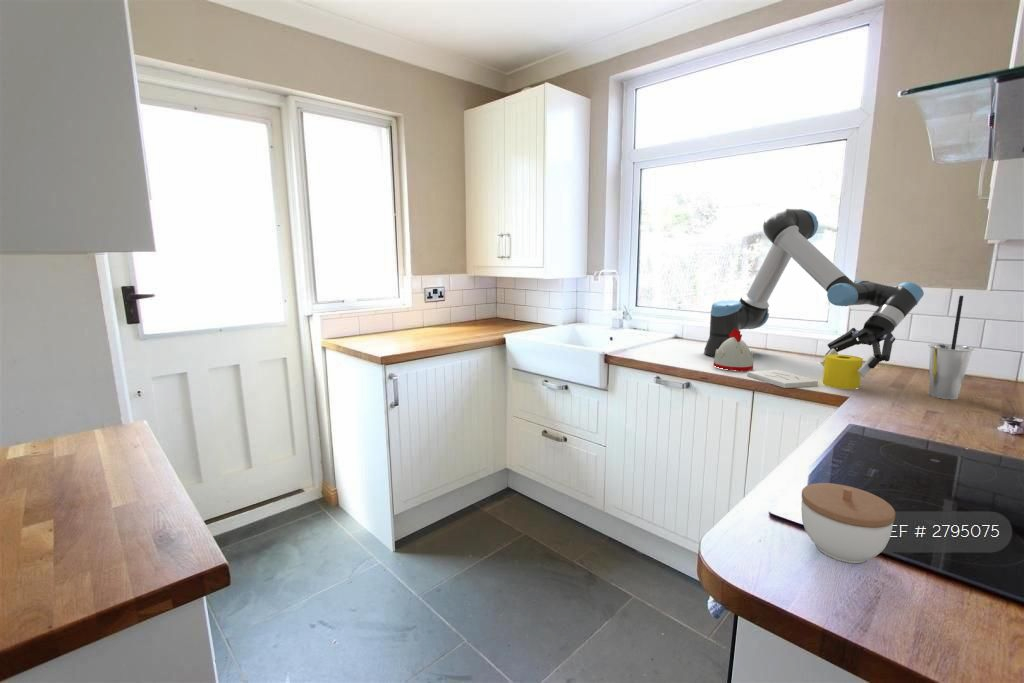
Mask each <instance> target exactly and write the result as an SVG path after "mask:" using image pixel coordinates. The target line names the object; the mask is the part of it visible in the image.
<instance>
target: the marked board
mask: <svg viewBox="0 0 1024 683" xmlns="http://www.w3.org/2000/svg"><path fill="white" fill-rule="evenodd" d="M747 377H750V378H753V379H756V380H759V381H761V382H766V383H768V384H771V385H775V386H777V387H781V388H783V389H788V388H789V389H792V388H803V387H815V386H816V385H817V386H819V380H816V379H812V378H810V377H805V376H802V375H798V374H795V373H792V372H788V371H784V370H781V369H771V370H755V371H752V370H751V371H747ZM817 386H816V387H817Z"/></svg>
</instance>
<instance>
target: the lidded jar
mask: <svg viewBox="0 0 1024 683" xmlns="http://www.w3.org/2000/svg"><path fill="white" fill-rule="evenodd" d="M895 519H896V511H895V509H894V507H893V506H892V505H891V504H890V503H889V502H887V501H886V500H885V499H884V498H882V497H879V496H878V495H875V494H873V493H871V492H869V491H866V490H863V489H860V488H857V487H853V486H849V485H845V484H839V483H833V482H832V483H830V482H818V483H816V482H815V483H811V484H808V485H806V486H804V487H803V488H802V490H801V520H802V525H803V527H804V530H805V532H806V534H807V535H808V537H809V539H810V540H811V541H812V542H813V543H814V544H815V547H816V546H817V547H818V548H817V547H816V548H817V550H819V551H820V552H821V553H822V554H823V555H825V556H827V557H829V558H831V559H834V560H836V561H839V562H842V563H847V564H862V563H865V562H867V561H868V560H870V559H873V558H874V557H877V556H878V555H880V553H882V552H883V551H884V550H885V548H886V546H887V545H888V542H889V541H890V539H891V536H892V531H893V528H894V527H893V525H894V522H895Z"/></svg>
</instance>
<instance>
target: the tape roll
mask: <svg viewBox="0 0 1024 683" xmlns="http://www.w3.org/2000/svg"><path fill="white" fill-rule="evenodd" d="M824 357H825V364H824V367H823V375H822V383H823V384H822V385H824V386H826V387H829V386H830V387H829V388H833V387H835V388H834V389H839V388H841V390H857V389H856V388H858V389H860V384H861V378H862V376H861V375H860V374H859V373H858V370H859V369H860V368H861V366H862V365H863V358H862V357H859V356H854V355H850V354H849V355H848V354H839V353H838V354H830V355H824Z"/></svg>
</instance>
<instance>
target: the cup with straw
mask: <svg viewBox="0 0 1024 683" xmlns="http://www.w3.org/2000/svg"><path fill="white" fill-rule="evenodd" d="M963 301H964V295H959V296H958V303H957V310H956V314H955V315H956V316H955V321H954V329H953V335H952V342H951V344H947V343H946V344H945V343H931V344H930V343H929V344H928V345H927V346H928V347H929V365H928V366H929V367H928V368H929V369H928V370H929V372H928V375H929V383H928V384H929V386H928V388H929V389H928V390H929V391H928V396H930V397H932V396H934V397H933V398H935V397H937V398H936V399H939V398H942V400H947V399H951V400H950V401H953V400H955V399H956V400H958V399H959V398H958V397H959V395H960V391H961V388H962V385H963V381H964V378H965V375H966V372H967V368H968V365H969V361H970V359H971V355H972V352H973V351H975V348H974V347H970V346H964V345H958V344H957V340H958V339H957V338H958V334H959V333H958V332H959V327H960V320H961V314H962V308H963ZM956 400H955V401H956Z"/></svg>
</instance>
